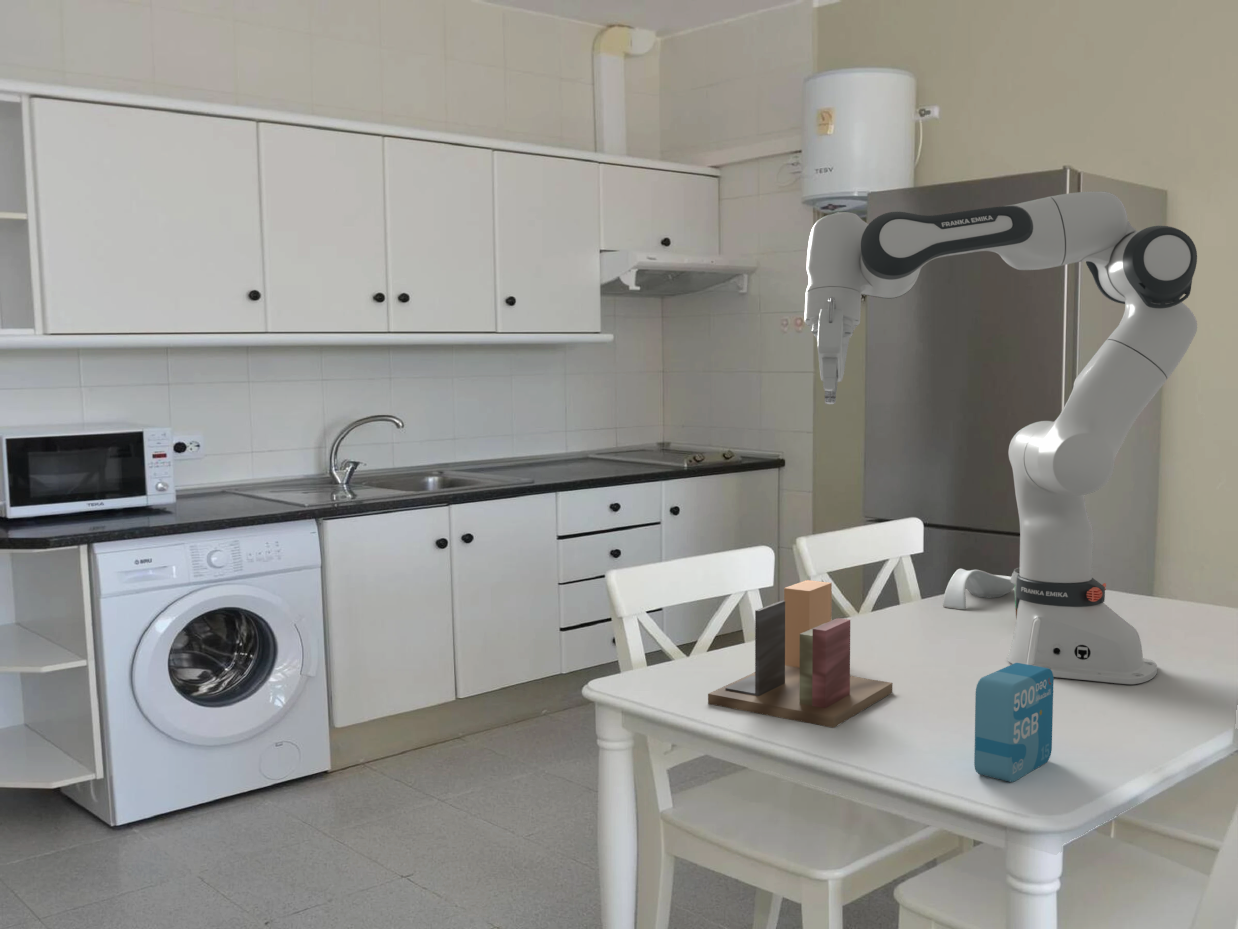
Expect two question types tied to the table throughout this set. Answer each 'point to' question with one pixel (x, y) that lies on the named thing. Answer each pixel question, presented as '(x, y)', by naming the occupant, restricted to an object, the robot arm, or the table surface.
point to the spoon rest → (974, 587)
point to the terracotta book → (804, 614)
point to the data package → (1013, 721)
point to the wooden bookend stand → (801, 675)
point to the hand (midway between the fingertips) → (829, 396)
